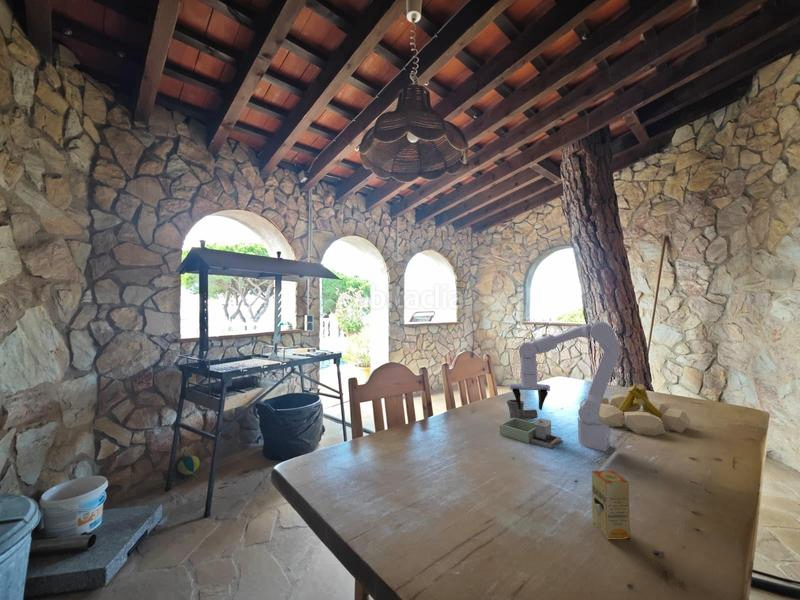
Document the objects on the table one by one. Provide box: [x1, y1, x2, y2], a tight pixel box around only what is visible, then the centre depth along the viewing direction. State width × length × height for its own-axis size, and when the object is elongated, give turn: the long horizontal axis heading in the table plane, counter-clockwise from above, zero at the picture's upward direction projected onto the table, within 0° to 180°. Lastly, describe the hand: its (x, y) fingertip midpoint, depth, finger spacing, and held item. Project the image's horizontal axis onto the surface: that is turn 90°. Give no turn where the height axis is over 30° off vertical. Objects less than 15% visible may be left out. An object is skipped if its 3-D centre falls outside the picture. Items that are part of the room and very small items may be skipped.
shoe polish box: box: [591, 470, 631, 539], centre depth 72 cm, size 5×5×12 cm
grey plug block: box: [534, 418, 552, 443], centre depth 119 cm, size 4×5×7 cm
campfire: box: [599, 382, 692, 437], centre depth 141 cm, size 35×34×17 cm
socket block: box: [528, 434, 563, 450], centre depth 118 cm, size 10×10×2 cm
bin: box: [499, 418, 535, 444], centre depth 125 cm, size 11×11×5 cm
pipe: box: [506, 399, 538, 420], centre depth 144 cm, size 6×13×8 cm, turn 89°
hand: (529, 408), depth 126 cm, fingers open, 7 cm apart
